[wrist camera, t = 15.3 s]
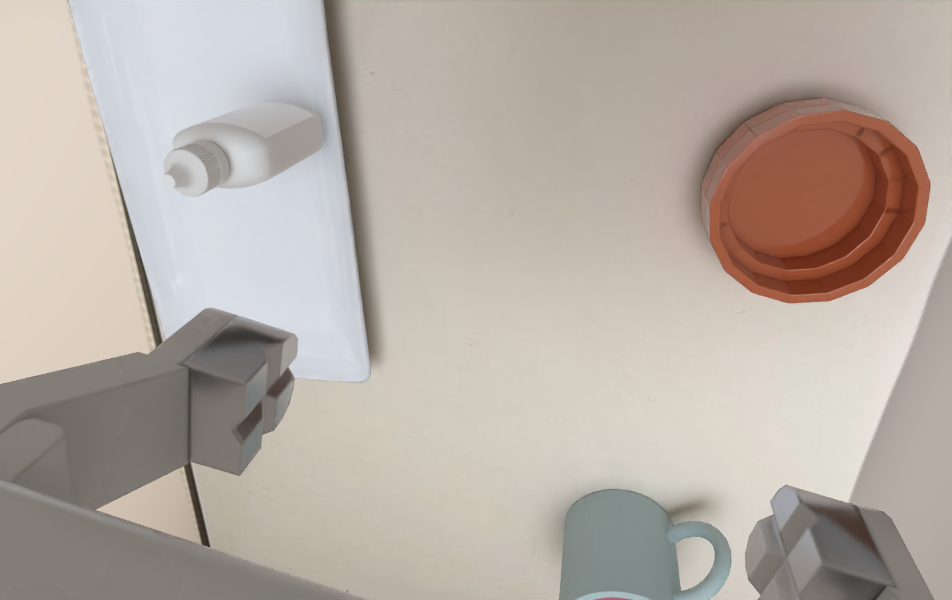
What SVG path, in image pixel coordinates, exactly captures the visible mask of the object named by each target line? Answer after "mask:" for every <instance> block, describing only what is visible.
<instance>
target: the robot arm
mask: <svg viewBox="0 0 952 600" xmlns="http://www.w3.org/2000/svg"><path fill="white" fill-rule="evenodd" d="M297 349H298V338H297V337H296V335H295V334H294V333H291V332H288V331H285V330H281V329H278V328H275V327H272V326H269V325H266V324H263V323H260V322H257V321H254V320H251V319H248V318H245V317H242V316H238V315H236V314H232V313H229V312H226V311H223V310H219V309H216V308H205V309H204V310H202V311H201V312H200V313H199V314H197V315H196V316H195V317H194V318H192V319H191V320H190V321H189V322H187V323H186V324H185V325H184V326H182V327H181V328H180V329H179V330H177V331H176V332H175V333H174V334H172V335H171V336H170V337H169V338H167V339H166V340H165V341H164V342H162V343H161V344H160V345H159V346H158V347H156V348H155V349H154V350H153V351H151V352H150V353H149V354H148V355H146V354H143V353H140V352H137V353H132V354H128V355H124V356H119V357H116V358H111V359H106V360H102V361H98V362H94V363H89V364H85V365H81V366H77V367H72V368H68V369H64V370H59V371H55V372H51V373H46V374H42V375H38V376H34V377H29V378H25V379H21V380H16V381H12V382H8V383H3V384H0V600H368V599H365V598H361V597H358V596H355V595H352V594H349V593H346V592H343V591H340V590H337V589H334V588H331V587H328V586H325V585H322V584H319V583H316V582H313V581H310V580H307V579H304V578H301V577H298V576H295V575H292V574H289V573H286V572H282V571H279V570H276V569H273V568H270V567H267V566H264V565H261V564H258V563H255V562H252V561H249V560H246V559H243V558H240V557H237V556H234V555H231V554H228V553H225V552H222V551H219V550H216V549H213V548H210V547H207V546H203V545H200V544H197V543H194V542H191V541H188V540H185V539H182V538H179V537H176V536H173V535H170V534H167V533H164V532H161V531H158V530H155V529H152V528H149V527H146V526H143V525H140V524H137V523H133V522H131V521H127V520H124V519H121V518H118V517H115V516H112V515H109V514H106V513H103V512H100V511H97V510H96V509H98V508H100V507H102V506H104V505H106V504H108V503H110V502H112V501H114V500H116V499H118V498H120V497H122V496H124V495H126V494H128V493H130V492H132V491H134V490H136V489H138V488H140V487H142V486H144V485H146V484H148V483H150V482H152V481H154V480H156V479H158V478H160V477H162V476H164V475H166V474H168V473H170V472H172V471H174V470H176V469H178V468H181V467H183V466H185V465H187V464H188V461H190V462H193V463H197V464H200V465H204V466H207V467H211V468H214V469H218V470H221V471H224V472H228V473H231V474H235V475H238V476H240V475H241V474H242V472H243V471H244V470H245V468H246V467H247V466H248V464H249V463H250V462H251V460H252V459H253V458H254V456H255V455H256V454H257V453H258V451H259V450H260V449H261V441H262V435H263V434H266V433H268V432H271V431H274V430H275V428H276V427H277V425H278V424H279V423H280V421H281V420H282V418H283V416H284V414H285V412H286V410H287V407H288V405H289V403H290V400H291V396H292V392H293V386H294V376H293V374H292V372H291V370H290V369H289V367H288V366H289V365H290V364H291V363H292V362H293V360H294V359H295V358H296V357H297ZM771 506H772V510H773V513H774V514H773V515H771V516H769V517H767V518H764V519H762V520H760V521H758V522H757V524H756V525H755V527H754V529H753V531H752V532H751V534H750V536H749V540H748V544H747V548H746V552H745V562H746V571H747V575H748V580H749V581H750V583H751V584H752V585H753V586H754V587H755V589H756V590H757V591H758V592H759V594H760V595H761V596H760V597H759V599H758V600H934V598H933V596H932V594H931V593H930V591H929V589H928V587H927V585H926V583H925V581H924V580H923V578H922V576H921V574H920V572H919V570H918V568H917V566H916V564H915V562H914V561H913V558H912V557H911V555H910V553H909V551H908V549H907V547H906V545H905V544H904V541H903V540H902V538H901V536H900V534H899V532H898V530H897V529H896V526H895V525H894V523H893V521H892V519H891V518H890V517H889V516H887V515H886V514H885V513H884V512H882V511H878V510H874V509H871V508H867V507H863V506H860V505H856V504H853V503H846V502H843V501H839V500H836V499H833V498H829V497H826V496H822V495H819V494H816V493H812V492H809V491H806V490H802V489H799V488H796V487H792V486H789V485H785V486H783V487H782V488H780V489H779V490H778V491H777V492H776V494H775V495H774V497H773V499H772V500H771Z"/></svg>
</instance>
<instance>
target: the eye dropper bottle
mask: <svg viewBox="0 0 952 600" xmlns="http://www.w3.org/2000/svg"><path fill="white" fill-rule="evenodd" d="M322 144H323V142H322V127H321V121H320V118H319V117H318V116H317V114H315V113H314V112H312V111H310V110H308V109H306V108H304V107H301V106H298V105H295V104H292V103H287V102H279V101H268V102H260V103H256V104H252V105H249V106H246V107H243V108H240V109H237V110H234V111H231V112H229V113H226V114H223V115H220V116H217V117H215V118H212V119H209V120H206V121H204V122H201V123H198V124H196V125H193V126H190V127H188V128H186V129H184V130H182V131H180V132H178V133H177V134H176V135H175V137H174V138H173V150H172V151H171V152H169V154H167V156H166V158H165V160H164V164H163V165H164V173H165V174H164V175H163V176H162V179H161V181H162V184H163V185H164V186H165V187H166V188H168V189H173V188H174V189H175V190H176V191H177V192H179V193H181V194H183V195H185V196H188V197H197V196H200V195H202V194H204V193H206V192H208V191H210V190H212V189H213V188H215V187H217V188H226V189H235V188H244V187H249V186H253V185H257V184H259V183H262V182H265V181H267V180H269V179H271V178H273V177H275V176H277V175H278V174H280V173H282V172H284V171H285V170H287V169H289V168H291V167H292V166H294V165H296V164H297V163H299V162H301V161H302V160H304V159H306V158H307V157H309V156H311V155H312V154H314V153H316V152H317V151H319V150H320V149H321V148H322Z"/></svg>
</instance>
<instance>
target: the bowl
mask: <svg viewBox="0 0 952 600" xmlns="http://www.w3.org/2000/svg"><path fill="white" fill-rule="evenodd" d="M929 192H930V180H929V178H928V175H927V172H926V169H925V166H924V164H923V161H922V158H921V155H920V152H919V150H918V148H917V146H916V145H914V144H913V143H912V142H911V141H910V140H909V139H908V138H906V137H905V136H904V135H903V134H902V133H901V132H900V131H898V130H897V129H896V128H895V127H894V126H893V125H892V124H890V123H889V122H888V121H886V120H884V119H882V118H880V117H878V116H876V115H874V114H873V113H871V112H869V111H867V110H865V109H863V108H861V107H857V106H853V105H849V104H846V103H842V102H838V101H835V100H831V99H827V98H817V99H809V100H801V101H793V102H785V103H781V104H778V105H776V106H775V107H773V108H771V109H769V110H767V111H765V112H763V113H761V114H759V115H757V116H755V117H753V118H751V119H749V120H747V121H745V122H744V123H742V124H741V125H740V126H739V127H738V129H737V130H736V131H735V132H734V133H733V134H732V135H731V136H730V137H729V138H728V139H727V140H726V141H725V142H724V143H723V144H722V145H721V146H720V147H719V148H718V149H717V151H716V152H715V154H714V156H713V159H712V161H711V163H710V166H709V168H708V171H707V173H706V175H705V178H704V180H703V182H702V186H701V212H702V221H703V224H704V227H705V229H706V232H707V234H708V237H709V240H710V242H711V244H712V246H713V248H714V250H715V252H716V254H717V256H718V258H719V260H720V262H721V264H722V266H723V268H724V270H725V271H726V272H727V273H728V274H729V275H730V276H732V277H733V278H734V279H735V280H737V281H738V282H739V283H740V284H742V285H743V286H744V287H746V288H747V289H748V290H749V291H751V292H753V293H754V294H758V295H761V296H765V297H768V298H772V299H775V300H779V301H782V302H786V303H804V302H822V301H831V300H834V299H836V298H839V297H842V296H844V295H847V294H849V293H852V292H855V291H857V290H860V289H863V288H865V287H868V286H869V285H871V284H872V283H873V282H875V281H876V280H877V279H878V278H880V277H881V276H882V275H883V274H885V273H886V272H887V271H888V270H890V269H891V268H892V267H893V266H895V265H896V264H897V263H898V262H900V261H901V260H902V259H903V258H904V257H905V255H906V253H907V252H908V250H909V248H910V247H911V245H912V244H913V242H914V240H915V239H916V237H917V236H918V234H919V232H920V231H921V229H922V227H923V226H924V223H925V220H926V213H927V206H928V199H929Z"/></svg>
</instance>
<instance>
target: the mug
mask: <svg viewBox="0 0 952 600" xmlns="http://www.w3.org/2000/svg"><path fill="white" fill-rule="evenodd" d="M689 537H702V538H705V539H707V540H708V541H710V543H711V544H712V545H713V547H714V550H715V560H714V564H713V567H712V569H711V571H710V573H709V574H708V575H707V576H706V578H705V579H704V580H703V581H702V582H700V583H699V584H698V585H696V586H695V587H693V588H690V589H688V590H684V591H681V587H680V579H679V570H678V562H677V553H676V545H675V543H676V542H678V541H680V540H682V539H684V538H689ZM730 567H731V550H730V547H729V545H728V542H727V540H726V538H725V537H724V536H723V534H722V533H721V532H720V531H719V530H718V529H717V528H715V527H713V526H712V525H710V524H707V523H704V522H700V521H687V522H683V523H679V524H677V525H674V526H673V524H672V522H671V520H670V518H669V516H668V514H667V513H666V512H665V511H664V510H663V509H662V508H661V507H660V506H659V505H658V504H657V503H655V502H654V501H652V500H651V499H649V498H647V497H645V496H643V495H640V494H637V493H634V492H630V491H624V490H604V491H598V492H595V493H592V494H589V495H587V496H585V497H583V498H581V499H580V500H578V501H577V502H576V503H575V504H574V505H573V506H572V507H571V509H570V510H569V512H568V514H567V517H566V521H565V532H564V544H563V557H562V569H561V582H560V594H559V600H709V599H710V598H712V597H713V596H714V595H716V593H717V592H718V591H719V590H720V589H721V587H722V586H723V585H724V583H725V581H726V579H727V577H728V575H729V571H730Z"/></svg>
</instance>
